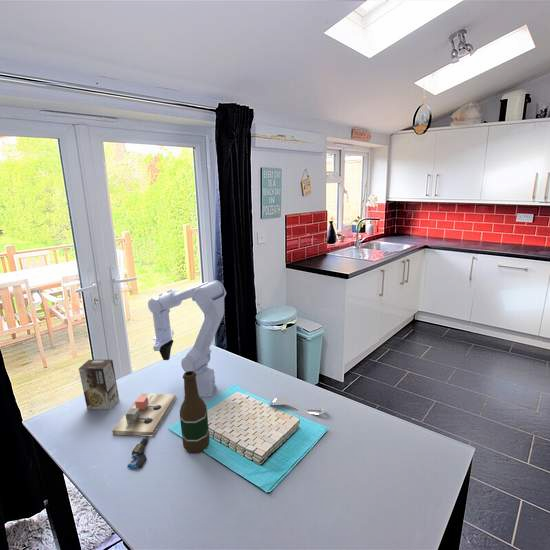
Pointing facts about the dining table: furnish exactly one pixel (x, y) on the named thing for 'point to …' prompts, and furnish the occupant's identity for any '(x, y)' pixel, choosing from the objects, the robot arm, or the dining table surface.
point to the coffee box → (99, 384)
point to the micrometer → (139, 454)
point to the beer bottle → (193, 417)
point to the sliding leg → (143, 403)
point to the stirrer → (283, 402)
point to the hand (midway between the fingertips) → (166, 359)
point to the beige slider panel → (145, 416)
